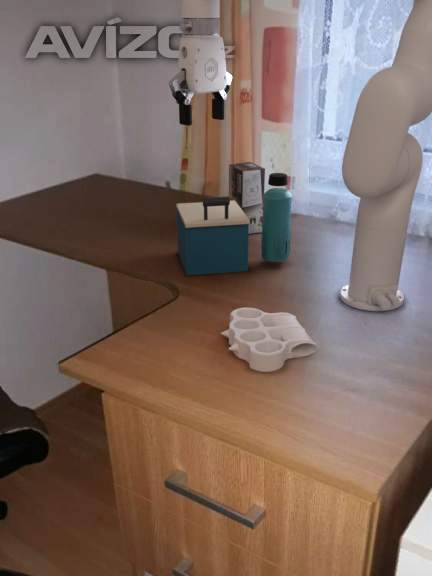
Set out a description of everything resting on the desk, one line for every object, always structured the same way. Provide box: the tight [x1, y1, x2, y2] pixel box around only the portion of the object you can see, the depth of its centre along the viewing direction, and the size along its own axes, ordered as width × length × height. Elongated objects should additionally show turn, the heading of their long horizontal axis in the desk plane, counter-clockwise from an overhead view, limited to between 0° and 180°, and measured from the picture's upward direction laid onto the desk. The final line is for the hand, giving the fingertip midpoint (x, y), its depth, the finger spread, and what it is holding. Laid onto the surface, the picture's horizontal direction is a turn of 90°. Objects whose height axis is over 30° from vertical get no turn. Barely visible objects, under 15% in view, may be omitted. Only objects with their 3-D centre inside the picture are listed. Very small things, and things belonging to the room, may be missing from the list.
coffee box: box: [228, 161, 266, 235], centre depth 157 cm, size 9×6×16 cm
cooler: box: [176, 208, 250, 276], centre depth 138 cm, size 15×14×11 cm
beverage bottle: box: [260, 172, 293, 263], centre depth 134 cm, size 6×7×20 cm
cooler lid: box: [175, 196, 250, 228], centre depth 133 cm, size 16×14×5 cm
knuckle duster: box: [219, 307, 317, 373], centre depth 105 cm, size 3×18×15 cm
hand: (202, 122), depth 129 cm, fingers open, 9 cm apart
